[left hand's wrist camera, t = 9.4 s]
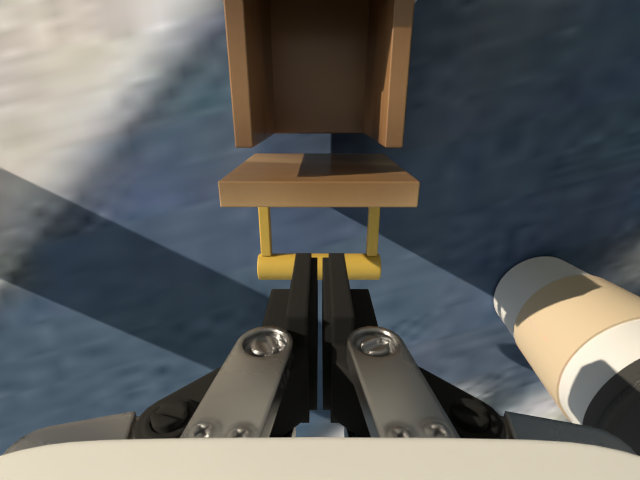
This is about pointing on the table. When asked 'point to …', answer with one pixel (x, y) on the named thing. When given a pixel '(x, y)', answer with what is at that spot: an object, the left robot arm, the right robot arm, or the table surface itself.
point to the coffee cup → (578, 341)
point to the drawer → (319, 112)
